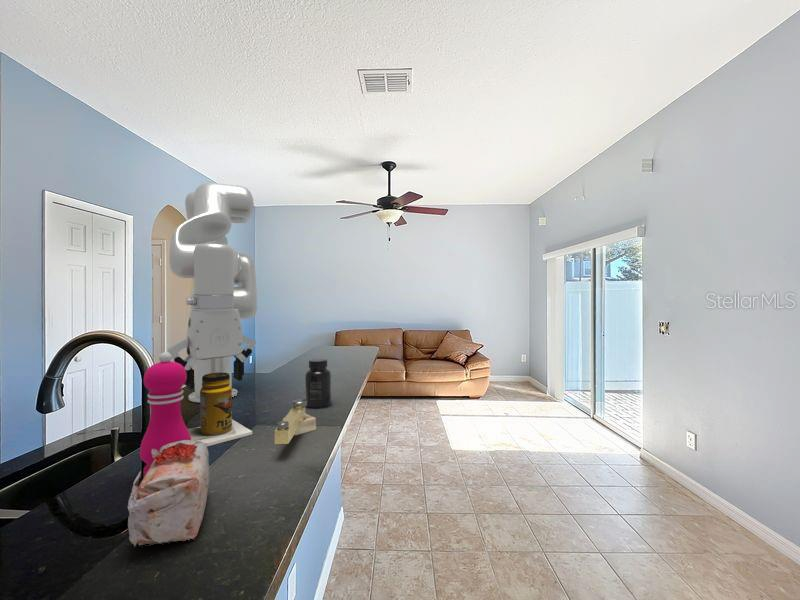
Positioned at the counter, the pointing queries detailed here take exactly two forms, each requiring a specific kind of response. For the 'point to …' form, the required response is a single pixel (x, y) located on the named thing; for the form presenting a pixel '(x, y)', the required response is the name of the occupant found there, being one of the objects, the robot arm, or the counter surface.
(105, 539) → the counter surface
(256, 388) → the counter surface
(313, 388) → the supplement bottle
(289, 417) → the lever
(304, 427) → the block
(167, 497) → the food item
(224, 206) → the robot arm
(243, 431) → the plate
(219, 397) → the condiment
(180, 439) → the pepper mill
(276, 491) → the counter surface
